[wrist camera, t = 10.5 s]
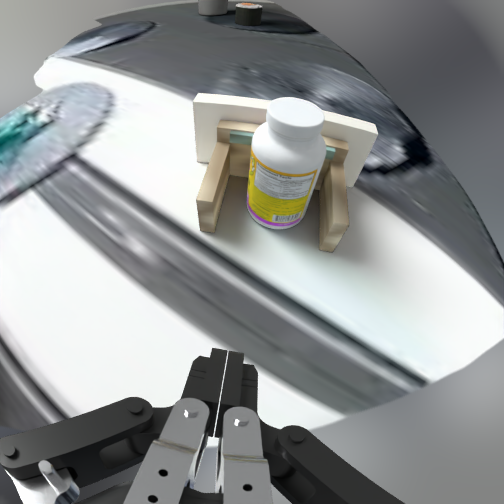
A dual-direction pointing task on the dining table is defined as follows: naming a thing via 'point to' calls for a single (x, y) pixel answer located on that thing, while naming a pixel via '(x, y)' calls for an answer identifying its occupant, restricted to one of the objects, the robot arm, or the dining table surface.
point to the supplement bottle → (285, 162)
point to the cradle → (237, 164)
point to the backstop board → (255, 110)
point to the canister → (213, 7)
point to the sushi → (248, 14)
